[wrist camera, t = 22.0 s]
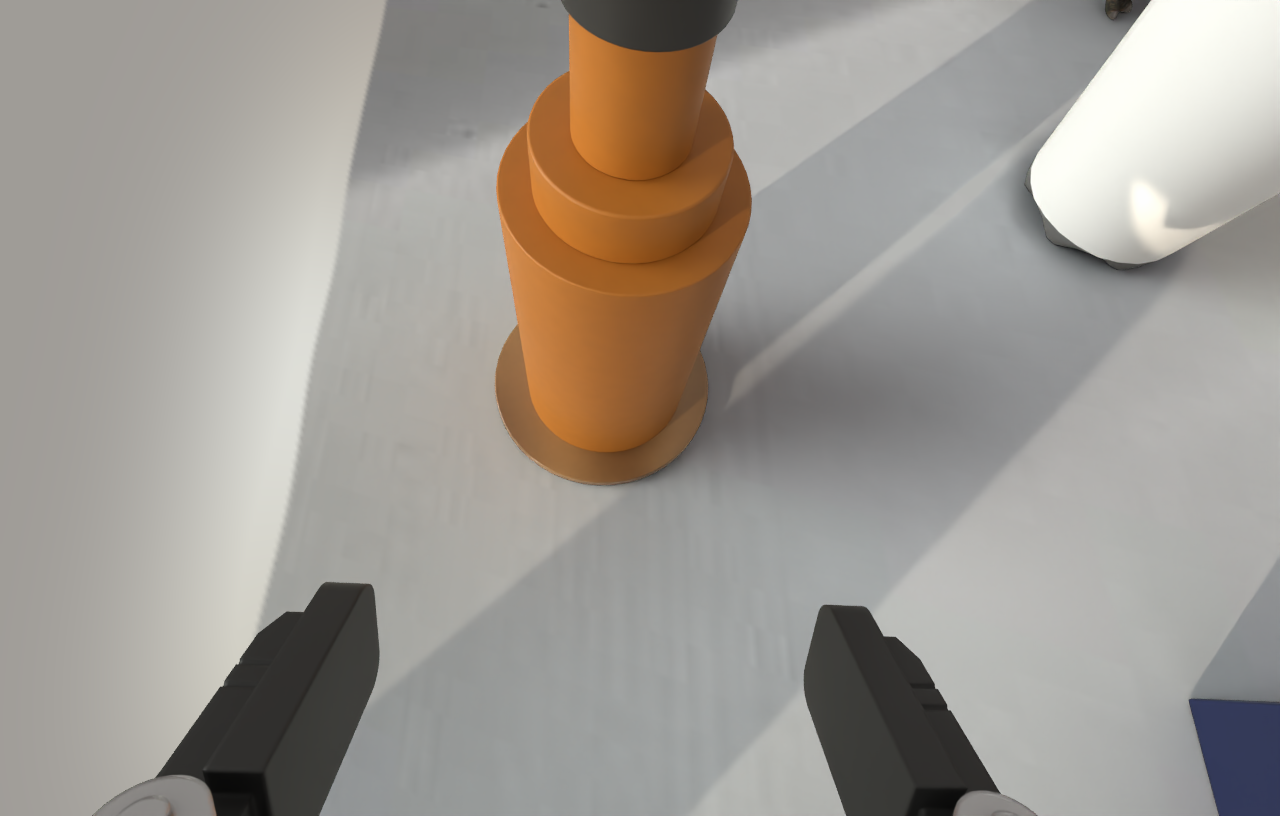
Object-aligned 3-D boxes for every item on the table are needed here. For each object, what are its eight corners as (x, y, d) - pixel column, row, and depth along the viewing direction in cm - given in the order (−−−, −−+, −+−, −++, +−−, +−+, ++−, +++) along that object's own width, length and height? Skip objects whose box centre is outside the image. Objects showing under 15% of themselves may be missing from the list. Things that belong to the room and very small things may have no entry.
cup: (1181, 328, 29) (1590, 102, 17) (977, 245, 30) (1239, -27, 18) (1196, 177, 33) (1541, -93, 21) (1015, 107, 34) (1252, -193, 22)
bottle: (569, 479, 23) (558, 121, 8) (504, 347, 25) (390, -156, 10) (708, 413, 25) (924, 4, 10) (637, 293, 27) (722, -216, 11)
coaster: (551, 523, 23) (550, 521, 23) (462, 338, 26) (461, 333, 25) (744, 429, 25) (747, 425, 25) (645, 266, 28) (646, 260, 27)
